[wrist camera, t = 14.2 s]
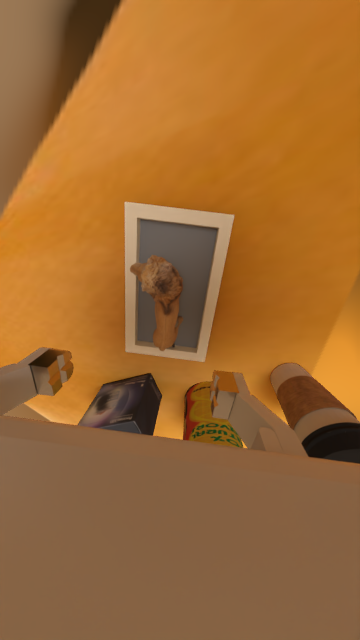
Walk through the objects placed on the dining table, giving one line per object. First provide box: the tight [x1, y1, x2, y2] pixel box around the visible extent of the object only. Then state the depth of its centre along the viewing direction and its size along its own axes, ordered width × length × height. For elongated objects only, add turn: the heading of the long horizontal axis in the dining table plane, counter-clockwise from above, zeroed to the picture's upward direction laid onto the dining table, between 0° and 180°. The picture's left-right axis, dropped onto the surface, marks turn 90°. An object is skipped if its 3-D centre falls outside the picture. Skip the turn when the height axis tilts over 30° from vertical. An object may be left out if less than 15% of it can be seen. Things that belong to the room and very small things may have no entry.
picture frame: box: [125, 202, 234, 362], centre depth 27 cm, size 13×21×2 cm, turn 174°
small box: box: [78, 374, 162, 436], centre depth 32 cm, size 11×6×10 cm, turn 109°
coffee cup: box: [270, 363, 360, 464], centre depth 26 cm, size 8×8×15 cm
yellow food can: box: [183, 382, 243, 448], centre depth 31 cm, size 9×9×12 cm
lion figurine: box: [130, 255, 183, 351], centre depth 24 cm, size 15×5×9 cm, turn 7°
